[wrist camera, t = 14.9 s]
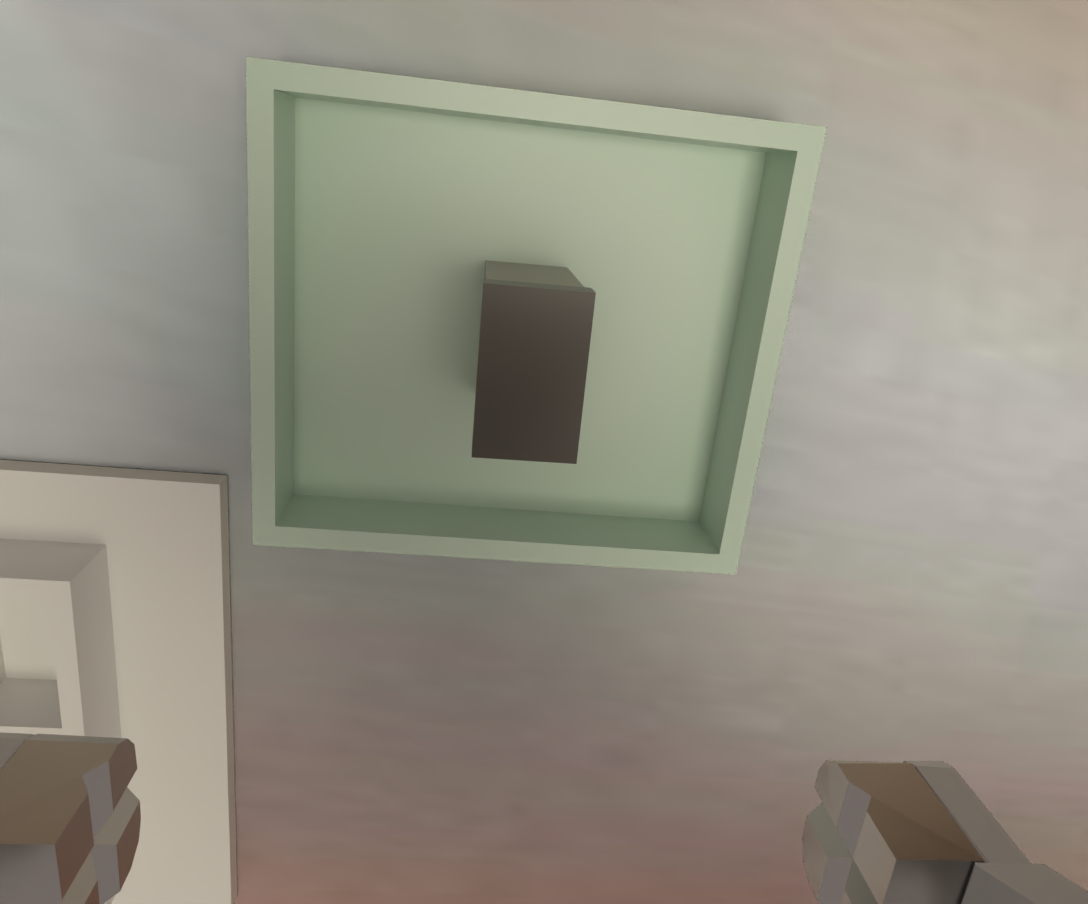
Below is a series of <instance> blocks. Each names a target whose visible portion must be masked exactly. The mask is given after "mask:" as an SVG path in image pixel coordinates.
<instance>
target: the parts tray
mask: <svg viewBox="0 0 1088 904" xmlns="http://www.w3.org/2000/svg"><path fill="white" fill-rule="evenodd" d="M246 117H247V189H248V262H249V335H250V408H251V480H252V545H260V546H276V547H293V548H309V549H326V550H342V551H358V552H375V553H391V554H408V555H424V556H441V557H457V558H473V559H490V560H506V561H523V562H539V563H555V564H572V565H588V566H605V567H621V568H637V569H654V570H670V571H687V572H703V573H719V574H736V572H737V567H738V562H739V558H740V553H741V548H742V543H743V538H744V533H745V528H746V523H747V518H748V513H749V508H750V503H751V498H752V494H753V489H754V484H755V479H756V474H757V469H758V464H759V459H760V454H761V449H762V444H763V439H764V435H765V430H766V425H767V420H768V415H769V410H770V405H771V400H772V395H773V390H774V385H775V380H776V376H777V371H778V366H779V361H780V356H781V351H782V346H783V341H784V336H785V331H786V326H787V321H788V317H789V312H790V307H791V302H792V297H793V292H794V287H795V282H796V277H797V272H798V267H799V262H800V257H801V253H802V248H803V243H804V238H805V233H806V228H807V223H808V218H809V213H810V208H811V203H812V198H813V194H814V189H815V184H816V179H817V174H818V169H819V164H820V159H821V154H822V149H823V144H824V139H825V135H826V130H827V127H821V126H812V125H804V124H796V123H788V122H779V121H771V120H763V119H755V118H747V117H738V116H730V115H722V114H714V113H705V112H697V111H689V110H681V109H672V108H664V107H656V106H648V105H640V104H631V103H623V102H615V101H607V100H598V99H590V98H582V97H574V96H566V95H557V94H549V93H541V92H533V91H524V90H516V89H508V88H500V87H491V86H483V85H475V84H467V83H459V82H450V81H442V80H434V79H426V78H417V77H409V76H401V75H393V74H384V73H376V72H368V71H360V70H352V69H343V68H335V67H327V66H319V65H310V64H302V63H294V62H286V61H277V60H269V59H261V58H253V57H246ZM485 260H488V261H499V262H511V263H522V264H533V265H545V266H556V267H567V268H568V269H569V270H570V271H571V272H572V273H573V275H574V276H575V277H576V278H577V279H578V280H579V281H580V283H581V284H582V285H583V286H584V287H587V288H592V289H593V290H594V291H595V292H596V297H595V305H594V314H593V323H592V332H591V340H590V349H589V358H588V367H587V376H586V384H585V393H584V402H583V411H582V420H581V428H580V437H579V446H578V455H577V464H568V463H552V462H537V461H521V460H505V459H489V458H474V457H471V456H472V437H473V422H474V407H475V393H476V378H477V363H478V349H479V334H480V319H481V305H482V290H483V279H484V275H485Z"/></svg>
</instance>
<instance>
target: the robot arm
mask: <svg viewBox="0 0 1088 904" xmlns="http://www.w3.org/2000/svg"><path fill="white" fill-rule="evenodd" d="M136 770H137V761H136V752H135V744H134V743H133V742H131V741H130V740H129V739H128V738H111V737H92V736H73V735H55V734H36V735H33V734H23V733H2V732H0V904H104V903H105V902H106V901H108V900H109V899H111V898H112V897H113V896H115V895H116V894H117V893H119V892H120V891H121V888H122V886H123V884H124V882H125V880H126V878H127V876H128V874H129V872H130V870H131V867H132V863H133V860H134V856H135V852H136V849H137V845H138V842H139V834H140V823H141V811H140V800H139V799H138V798H137V797H136V796H135V795H134V794H133V793H132V792H131V791H130V790H129V789H128V787H127V786H128V784H129V782H130V781H131V779H132V777H133V775H134V774H135V772H136ZM815 789H816V791H817V792H818V794H819V796H820V798H821V800H822V803H821V804H820V805H818V806H817V807H816V808H815V809H814V810H813V811H812V812H811V813H810V814H809V815H808V816H807V818H806V823H805V828H804V833H803V837H802V843H803V862H804V866H805V870H806V874H807V878H808V881H809V884H810V886H811V888H812V890H813V893H814V895H815V897H816V899H817V900H818V901H819V902H820V903H821V904H1088V891H1087V890H1085V889H1083V888H1082V887H1080V886H1078V885H1077V884H1075V883H1074V882H1072V881H1070V880H1069V879H1067V878H1065V877H1064V876H1062V875H1061V874H1059V873H1057V872H1056V871H1054V870H1052V869H1051V868H1049V867H1048V866H1046V865H1044V864H1031V863H1030V862H1029V860H1028V859H1027V858H1026V857H1025V855H1024V854H1023V853H1022V852H1021V850H1020V849H1019V848H1018V847H1017V845H1016V844H1015V843H1014V842H1013V840H1012V839H1011V838H1010V837H1009V835H1008V834H1007V833H1006V832H1005V830H1004V829H1003V828H1002V827H1001V825H1000V824H999V823H998V822H997V820H996V819H995V818H994V817H993V815H992V814H991V813H990V812H989V811H988V809H987V808H986V807H985V806H984V804H983V803H982V802H981V801H980V799H979V798H978V797H977V796H976V794H975V793H974V792H973V791H972V789H971V788H970V787H969V786H968V784H967V783H966V782H965V781H964V779H963V778H962V777H961V776H960V774H959V773H958V772H957V771H956V769H955V768H953V767H952V766H950V765H949V764H947V763H945V762H943V761H904V762H877V761H836V760H826V761H825V762H824V764H823V765H822V767H821V768H820V769H819V772H818V776H817V779H816V783H815Z"/></svg>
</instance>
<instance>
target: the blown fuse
mask: <svg viewBox="0 0 1088 904" xmlns="http://www.w3.org/2000/svg"><path fill="white" fill-rule="evenodd" d="M595 297H596V292H595V291H594V290H593V289H592V288H587V287H584V286H583V285H582V284H581V283H580V281H579V280H578V279H577V278H576V277H575V276H574V275H573V273H572V272H571V271H570V270H569V269H568V268H567V267H556V266H545V265H533V264H522V263H511V262H499V261H488V260H485V275H484V279H483V290H482V305H481V319H480V334H479V349H478V363H477V378H476V393H475V407H474V422H473V437H472V456H471V457H474V458H489V459H505V460H521V461H537V462H552V463H568V464H577V455H578V446H579V437H580V428H581V420H582V411H583V402H584V393H585V384H586V376H587V367H588V358H589V349H590V340H591V332H592V323H593V314H594V305H595Z"/></svg>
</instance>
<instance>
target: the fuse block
mask: <svg viewBox="0 0 1088 904" xmlns="http://www.w3.org/2000/svg"><path fill="white" fill-rule="evenodd" d="M0 732H2V733H23V734H33V735H36V734H55V735H73V736H92V737H111V738H128V739H129V740H130V741H131V742H133V743H134V744H135V752H136V761H137V770H136V772H135V774H134V775H133V777H132V779H131V781H130V782H129V784H128V786H127V787H128V789H129V790H130V791H131V792H132V793H133V794H134V795H135V796H136V797H137V798H138V799H139V800H140V811H141V823H140V834H139V842H138V845H137V849H136V852H135V856H134V860H133V863H132V867H131V870H130V872H129V874H128V876H127V878H126V880H125V882H124V884H123V886H122V888H121V891H120V892H119V893H117V894H116V895H115V896H113V897H112V898H111V899H109V900H108V901H106V902H105V903H104V904H235V901H236V898H237V856H236V814H235V773H234V731H233V690H232V648H231V607H230V565H229V524H228V482H227V475H215V474H201V473H186V472H172V471H157V470H143V469H129V468H114V467H100V466H85V465H71V464H56V463H42V462H28V461H13V460H0Z"/></svg>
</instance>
